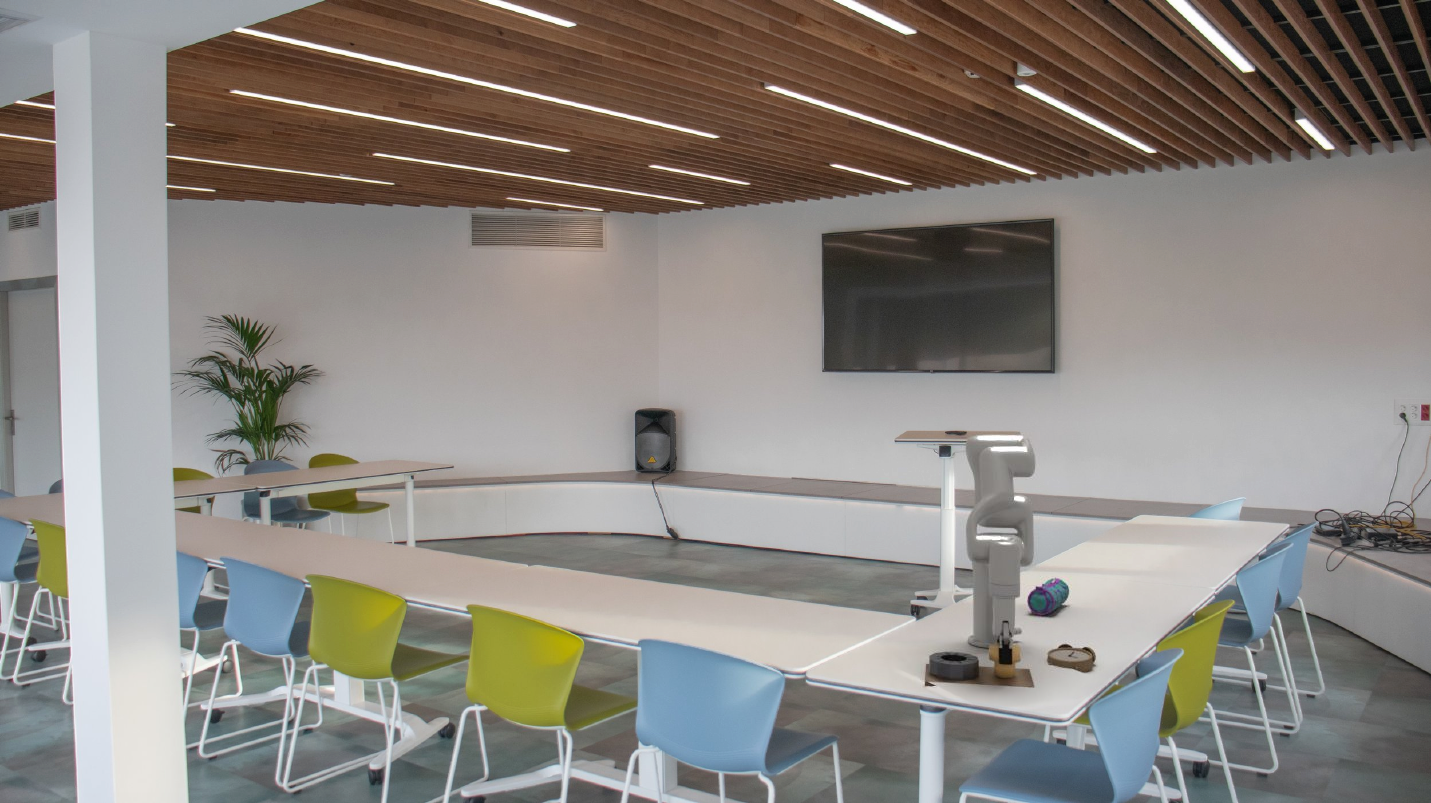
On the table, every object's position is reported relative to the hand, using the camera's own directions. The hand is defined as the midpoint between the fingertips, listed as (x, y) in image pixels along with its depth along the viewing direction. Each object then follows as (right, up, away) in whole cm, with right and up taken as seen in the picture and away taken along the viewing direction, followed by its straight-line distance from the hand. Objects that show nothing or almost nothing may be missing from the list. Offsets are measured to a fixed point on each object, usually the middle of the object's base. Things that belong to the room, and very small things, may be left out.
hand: (1004, 659), depth 261 cm
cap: (0, -4, 0) cm, 4 cm away
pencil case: (+36, -4, +78) cm, 86 cm away
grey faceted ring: (-12, -4, +2) cm, 13 cm away
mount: (-6, -5, +1) cm, 8 cm away
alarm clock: (+22, -5, +14) cm, 26 cm away
